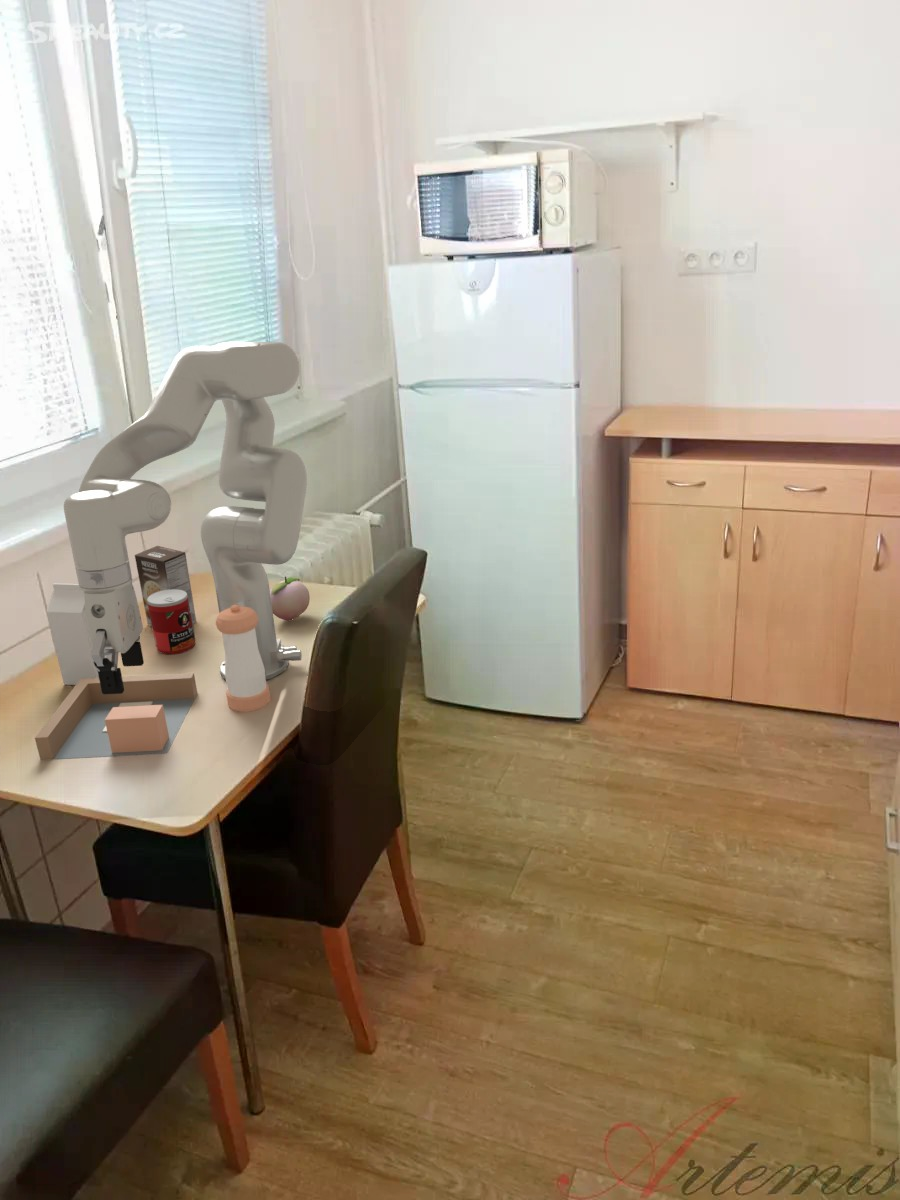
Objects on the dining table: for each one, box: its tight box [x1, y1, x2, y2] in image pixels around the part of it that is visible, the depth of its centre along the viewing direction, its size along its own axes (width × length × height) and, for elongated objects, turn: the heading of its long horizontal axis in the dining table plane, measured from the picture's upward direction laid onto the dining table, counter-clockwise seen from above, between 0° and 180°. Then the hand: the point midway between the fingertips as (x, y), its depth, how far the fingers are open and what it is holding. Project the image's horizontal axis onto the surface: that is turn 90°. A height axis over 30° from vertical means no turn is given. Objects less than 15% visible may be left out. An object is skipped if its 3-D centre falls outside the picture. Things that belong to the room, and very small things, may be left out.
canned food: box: [147, 589, 196, 655], centre depth 183 cm, size 8×8×11 cm
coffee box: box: [134, 545, 197, 627], centre depth 193 cm, size 9×6×16 cm
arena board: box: [34, 672, 198, 761], centre depth 153 cm, size 20×20×5 cm
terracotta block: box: [105, 705, 169, 753], centre depth 146 cm, size 8×4×6 cm, turn 91°
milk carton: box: [45, 583, 113, 686], centre depth 170 cm, size 7×7×19 cm
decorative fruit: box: [270, 576, 311, 622], centre depth 192 cm, size 9×8×10 cm
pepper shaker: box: [215, 605, 271, 712], centre depth 156 cm, size 7×7×19 cm
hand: (123, 678), depth 142 cm, fingers open, 9 cm apart
